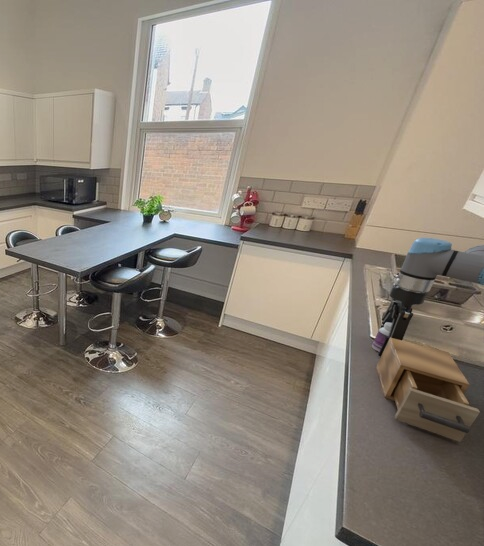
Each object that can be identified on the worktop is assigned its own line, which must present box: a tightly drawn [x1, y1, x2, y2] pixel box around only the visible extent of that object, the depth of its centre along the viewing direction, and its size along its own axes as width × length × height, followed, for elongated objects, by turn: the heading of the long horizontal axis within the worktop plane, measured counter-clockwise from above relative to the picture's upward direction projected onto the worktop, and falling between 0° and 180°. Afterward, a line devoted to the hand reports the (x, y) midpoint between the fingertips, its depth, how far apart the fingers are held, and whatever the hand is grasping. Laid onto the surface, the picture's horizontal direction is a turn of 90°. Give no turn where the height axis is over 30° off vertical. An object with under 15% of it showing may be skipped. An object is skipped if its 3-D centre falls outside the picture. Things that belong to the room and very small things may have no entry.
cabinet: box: [375, 338, 471, 402], centre depth 84 cm, size 16×12×11 cm
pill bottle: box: [371, 322, 392, 353], centre depth 102 cm, size 5×5×10 cm
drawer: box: [392, 369, 481, 443], centre depth 75 cm, size 19×11×9 cm, turn 144°
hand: (381, 349), depth 103 cm, fingers open, 9 cm apart
